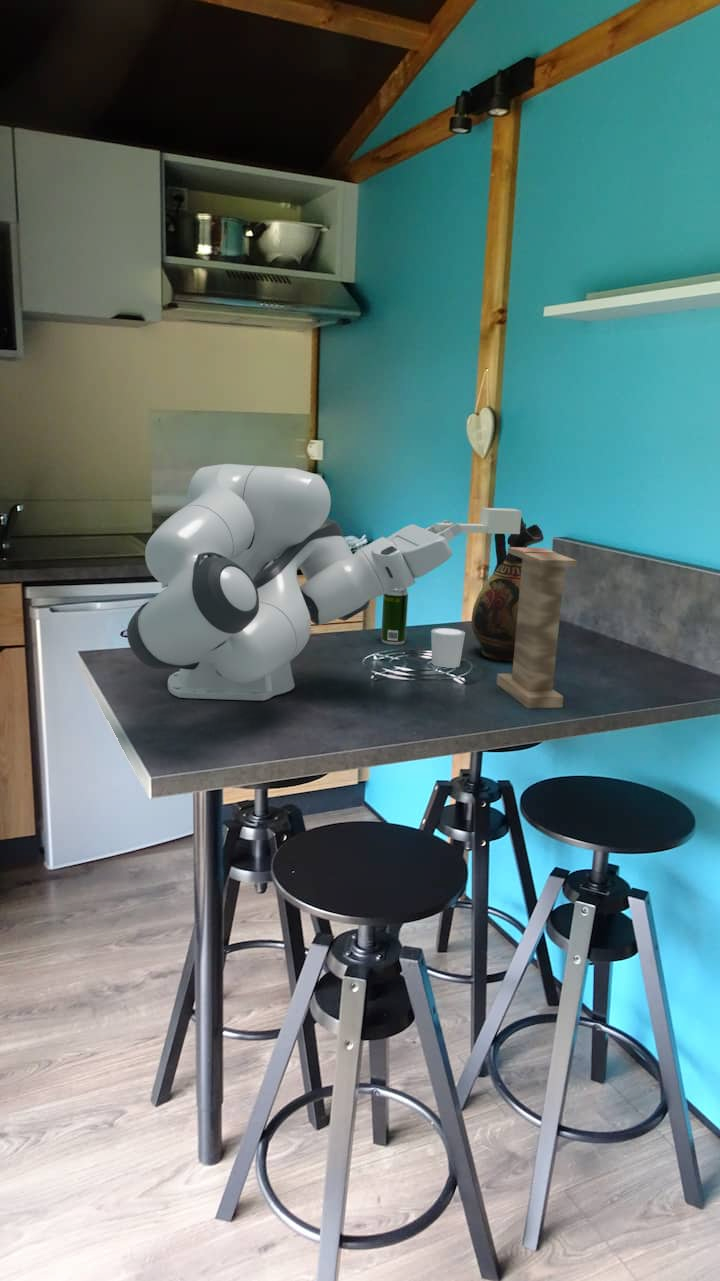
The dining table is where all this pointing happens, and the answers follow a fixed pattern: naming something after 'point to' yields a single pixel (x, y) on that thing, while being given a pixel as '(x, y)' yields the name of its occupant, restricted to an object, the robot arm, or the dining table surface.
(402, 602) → the beer can
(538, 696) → the wooden post with base
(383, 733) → the dining table surface
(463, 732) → the dining table surface
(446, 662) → the white cylinder
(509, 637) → the ceramic jug
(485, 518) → the white block with handle
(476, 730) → the dining table surface
